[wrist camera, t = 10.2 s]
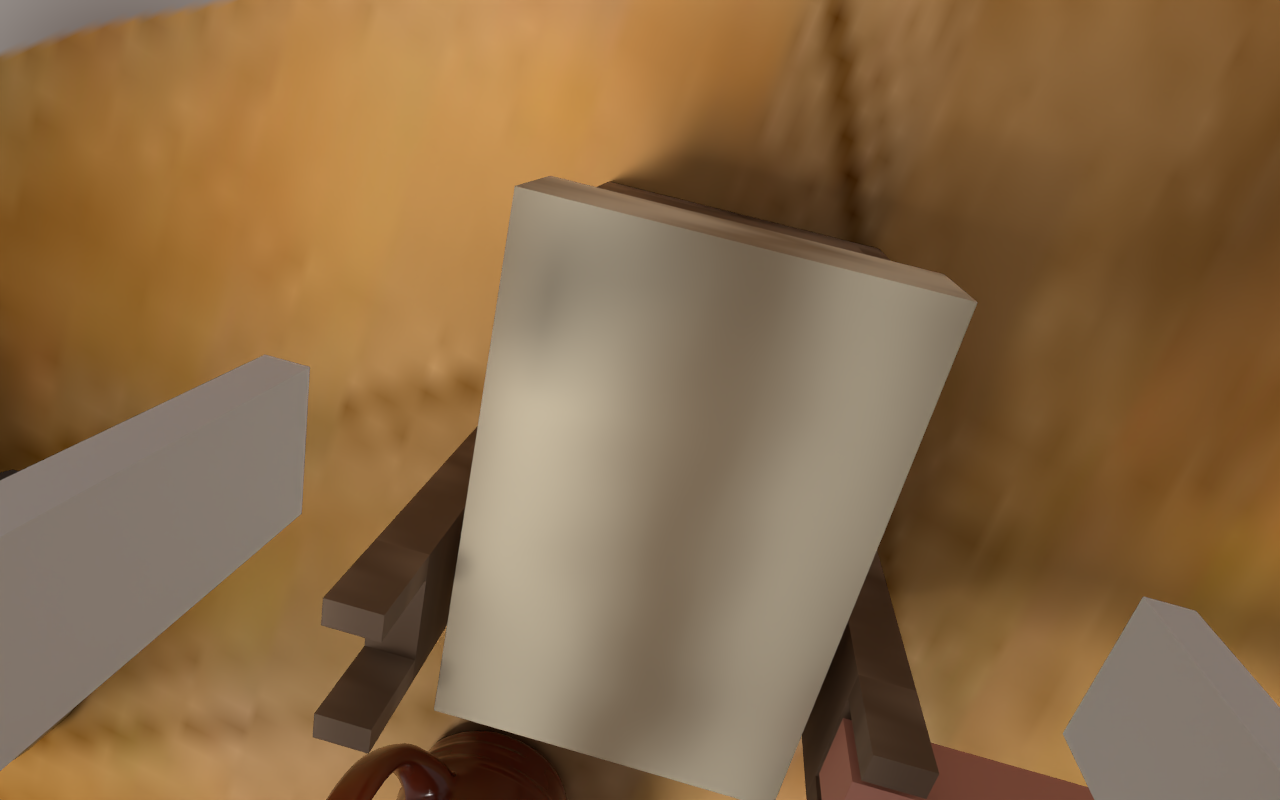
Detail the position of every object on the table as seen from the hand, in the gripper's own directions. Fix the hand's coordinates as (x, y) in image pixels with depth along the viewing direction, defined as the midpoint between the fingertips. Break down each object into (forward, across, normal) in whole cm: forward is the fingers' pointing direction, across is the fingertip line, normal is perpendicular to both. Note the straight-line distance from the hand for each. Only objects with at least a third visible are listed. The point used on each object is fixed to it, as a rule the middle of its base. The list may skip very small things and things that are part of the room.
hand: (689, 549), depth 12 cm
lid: (+9, 0, +4) cm, 10 cm away
